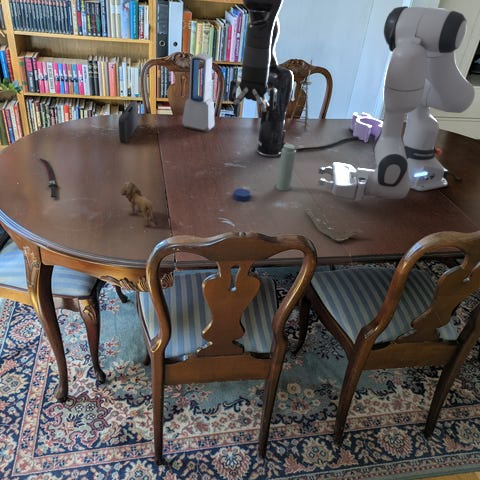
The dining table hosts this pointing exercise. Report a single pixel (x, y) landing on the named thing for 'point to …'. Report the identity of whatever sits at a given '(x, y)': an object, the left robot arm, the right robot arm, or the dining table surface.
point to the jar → (286, 167)
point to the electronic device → (199, 97)
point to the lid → (241, 194)
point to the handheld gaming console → (128, 121)
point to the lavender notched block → (365, 126)
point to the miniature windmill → (305, 83)
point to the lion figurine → (137, 201)
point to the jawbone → (331, 232)
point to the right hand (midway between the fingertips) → (318, 175)
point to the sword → (51, 182)
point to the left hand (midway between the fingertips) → (250, 119)
